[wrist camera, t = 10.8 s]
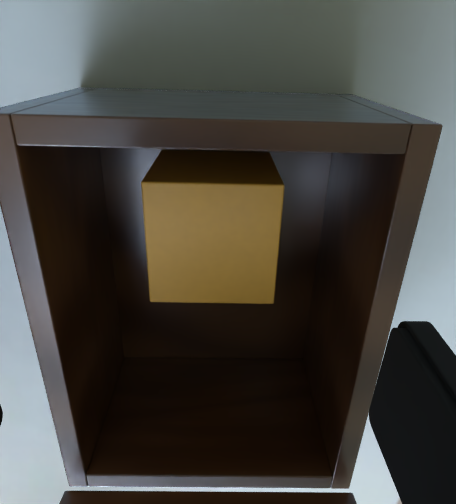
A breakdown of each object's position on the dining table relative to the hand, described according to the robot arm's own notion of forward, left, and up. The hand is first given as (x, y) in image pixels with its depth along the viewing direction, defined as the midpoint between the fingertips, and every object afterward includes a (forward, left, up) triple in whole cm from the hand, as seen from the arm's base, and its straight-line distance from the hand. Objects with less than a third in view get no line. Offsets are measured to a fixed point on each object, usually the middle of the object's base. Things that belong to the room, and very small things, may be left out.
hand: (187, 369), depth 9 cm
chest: (+4, 0, -14) cm, 14 cm away
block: (+1, 0, -13) cm, 13 cm away
